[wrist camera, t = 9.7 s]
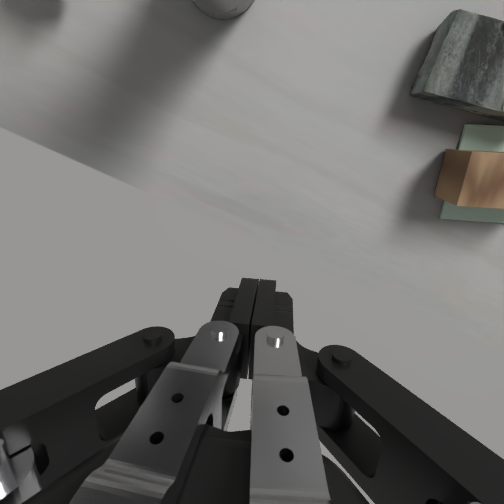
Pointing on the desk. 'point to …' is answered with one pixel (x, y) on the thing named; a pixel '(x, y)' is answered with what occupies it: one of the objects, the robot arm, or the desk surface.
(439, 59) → the stone block
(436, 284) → the desk surface
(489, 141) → the sage mat
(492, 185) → the walnut block
